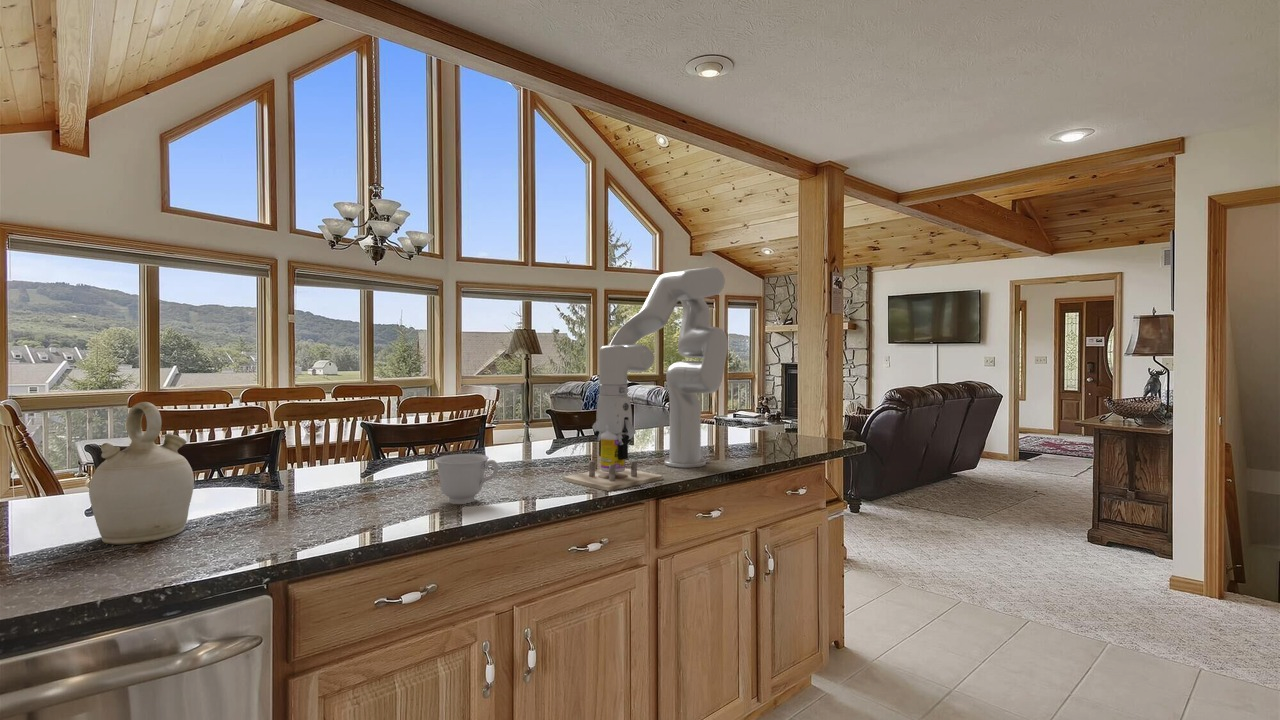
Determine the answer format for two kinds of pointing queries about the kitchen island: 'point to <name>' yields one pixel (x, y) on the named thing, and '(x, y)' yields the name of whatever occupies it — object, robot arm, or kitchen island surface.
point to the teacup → (463, 475)
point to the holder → (612, 477)
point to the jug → (142, 484)
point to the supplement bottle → (610, 452)
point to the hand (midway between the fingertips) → (613, 457)
